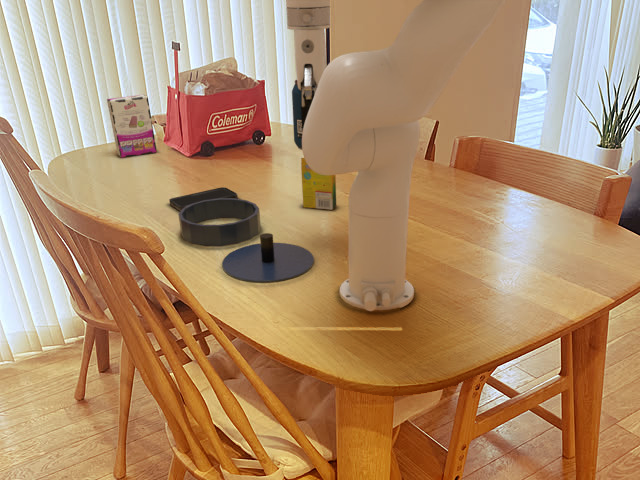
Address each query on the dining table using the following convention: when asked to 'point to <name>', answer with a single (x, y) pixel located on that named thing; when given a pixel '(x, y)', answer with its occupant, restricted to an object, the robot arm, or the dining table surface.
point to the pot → (222, 232)
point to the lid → (268, 261)
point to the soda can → (297, 114)
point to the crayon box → (317, 188)
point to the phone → (201, 197)
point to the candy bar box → (132, 125)
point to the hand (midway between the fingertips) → (311, 123)
